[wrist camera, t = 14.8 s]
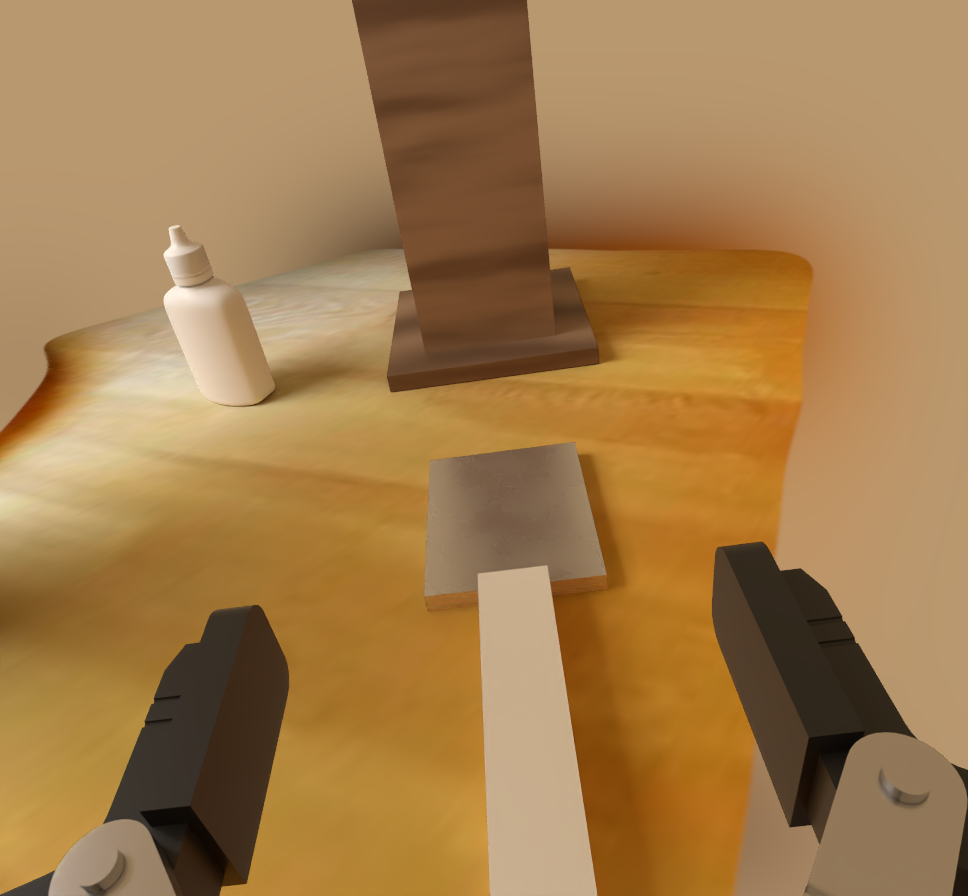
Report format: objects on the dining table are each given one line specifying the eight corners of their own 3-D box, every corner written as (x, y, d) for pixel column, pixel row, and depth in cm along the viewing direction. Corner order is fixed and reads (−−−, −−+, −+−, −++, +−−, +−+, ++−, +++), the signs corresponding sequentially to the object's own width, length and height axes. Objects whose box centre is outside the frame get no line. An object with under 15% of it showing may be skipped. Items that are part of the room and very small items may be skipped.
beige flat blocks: (718, 1054, 18) (722, 1027, 17) (410, 1080, 19) (395, 1057, 17) (575, 456, 39) (573, 426, 38) (433, 474, 40) (426, 445, 39)
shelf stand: (604, 378, 45) (572, -351, 27) (388, 408, 46) (212, -284, 28) (567, 271, 60) (530, -248, 42) (404, 295, 61) (295, -206, 42)
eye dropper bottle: (254, 368, 53) (195, 209, 46) (283, 395, 49) (223, 225, 42) (198, 391, 52) (127, 229, 45) (223, 421, 48) (150, 248, 41)
